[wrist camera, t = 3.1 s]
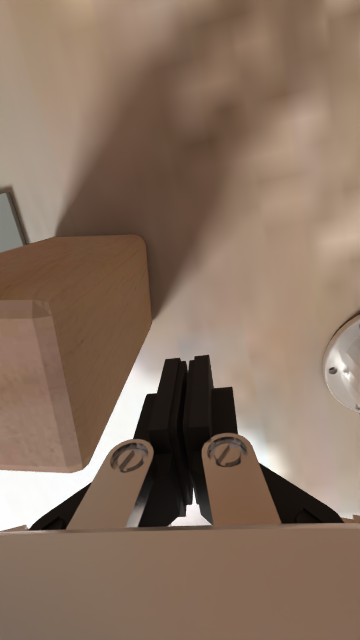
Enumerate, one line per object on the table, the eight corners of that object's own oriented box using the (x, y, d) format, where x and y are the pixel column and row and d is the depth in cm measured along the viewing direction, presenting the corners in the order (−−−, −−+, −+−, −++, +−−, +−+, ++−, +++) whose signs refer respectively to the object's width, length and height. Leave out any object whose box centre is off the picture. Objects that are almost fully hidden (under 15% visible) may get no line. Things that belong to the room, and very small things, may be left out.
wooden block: (48, 235, 32) (-174, 297, 14) (147, 232, 31) (50, 294, 13) (65, 327, 36) (-91, 474, 17) (154, 327, 35) (88, 483, 16)
